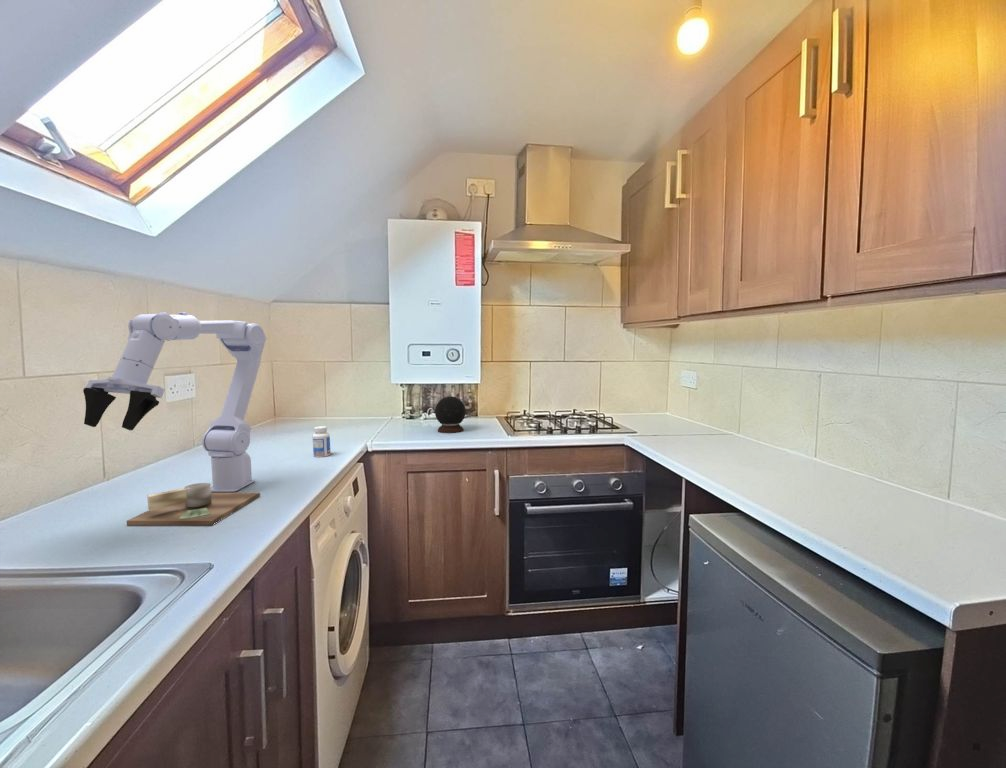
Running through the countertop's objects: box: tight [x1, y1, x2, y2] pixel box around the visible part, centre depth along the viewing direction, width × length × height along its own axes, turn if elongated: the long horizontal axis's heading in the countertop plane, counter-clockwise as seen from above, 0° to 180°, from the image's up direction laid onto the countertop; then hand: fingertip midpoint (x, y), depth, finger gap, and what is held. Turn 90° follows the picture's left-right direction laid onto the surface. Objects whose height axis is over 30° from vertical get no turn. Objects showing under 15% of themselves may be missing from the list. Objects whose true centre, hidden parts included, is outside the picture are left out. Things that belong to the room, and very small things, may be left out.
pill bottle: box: [312, 425, 331, 458], centre depth 154 cm, size 6×5×10 cm
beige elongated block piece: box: [146, 482, 212, 511], centre depth 101 cm, size 12×5×4 cm, turn 139°
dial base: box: [126, 492, 261, 526], centre depth 104 cm, size 18×18×1 cm
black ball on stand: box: [434, 396, 467, 434], centre depth 197 cm, size 13×13×15 cm
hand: (108, 427), depth 90 cm, fingers open, 7 cm apart
